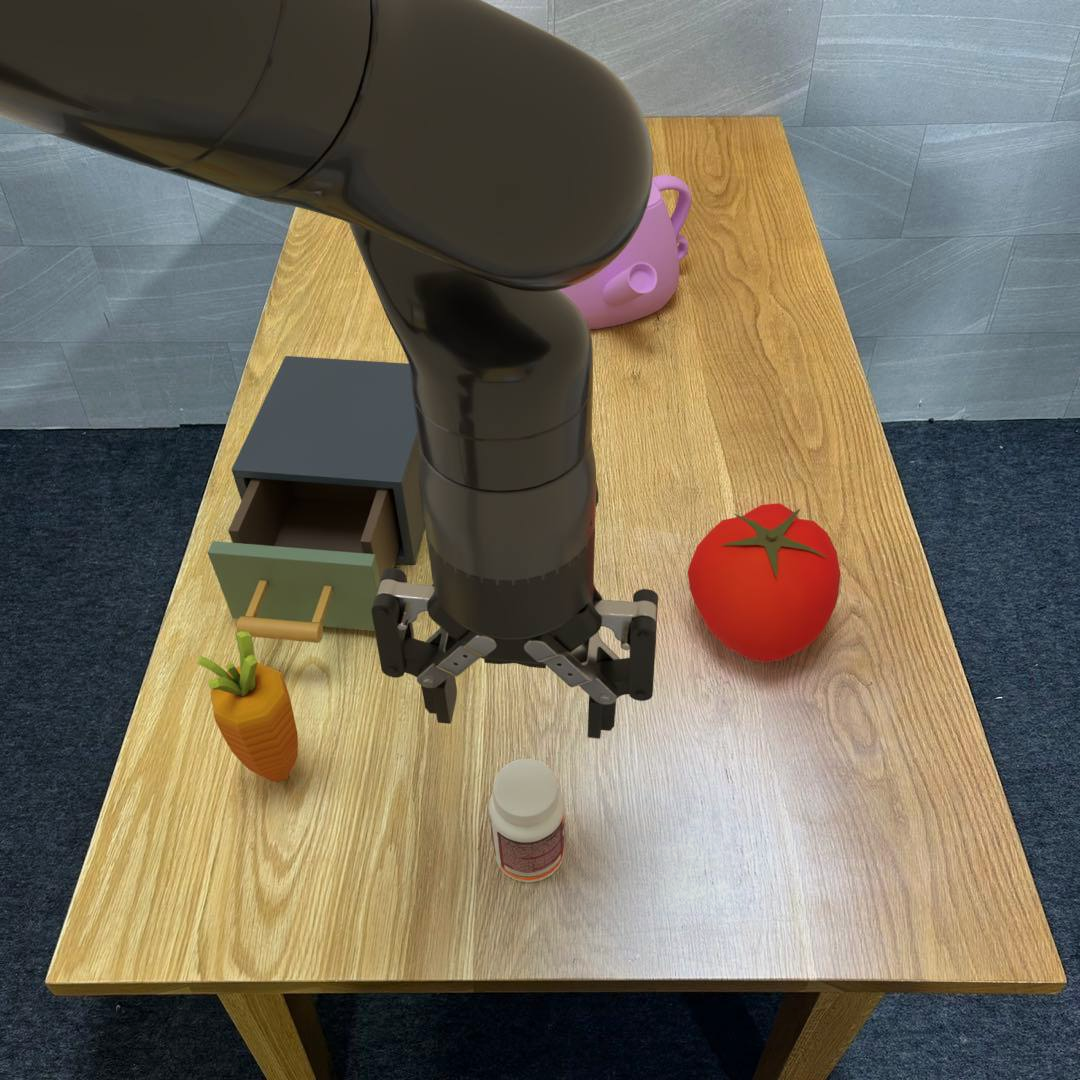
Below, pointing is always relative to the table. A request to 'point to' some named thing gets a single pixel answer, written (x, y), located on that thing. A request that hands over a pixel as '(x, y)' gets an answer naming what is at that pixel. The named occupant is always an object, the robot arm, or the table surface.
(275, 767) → the carrot
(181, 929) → the table surface
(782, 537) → the tomato
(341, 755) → the table surface
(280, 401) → the cabinet
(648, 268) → the teapot
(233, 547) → the drawer
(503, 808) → the pill bottle
